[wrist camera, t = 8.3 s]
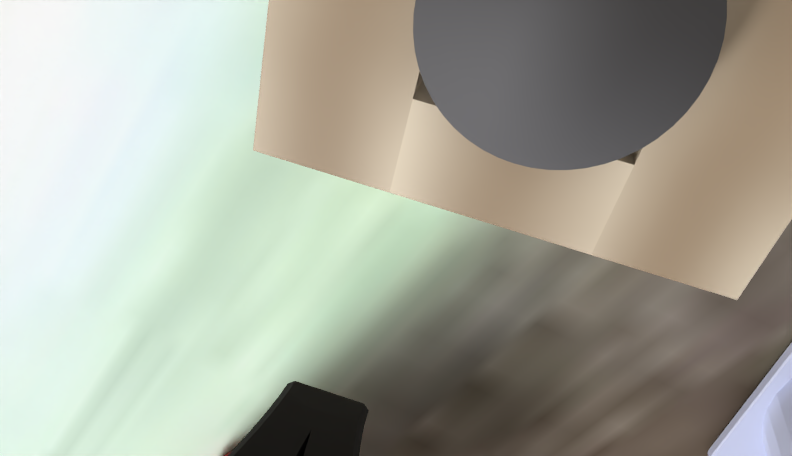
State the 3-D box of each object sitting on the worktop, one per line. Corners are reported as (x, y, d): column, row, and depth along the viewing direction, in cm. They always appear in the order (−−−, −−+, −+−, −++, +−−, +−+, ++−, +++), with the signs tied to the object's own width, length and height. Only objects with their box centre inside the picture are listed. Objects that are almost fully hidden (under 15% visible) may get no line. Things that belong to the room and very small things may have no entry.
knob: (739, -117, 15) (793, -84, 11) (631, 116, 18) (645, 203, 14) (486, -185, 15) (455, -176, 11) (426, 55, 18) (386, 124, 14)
